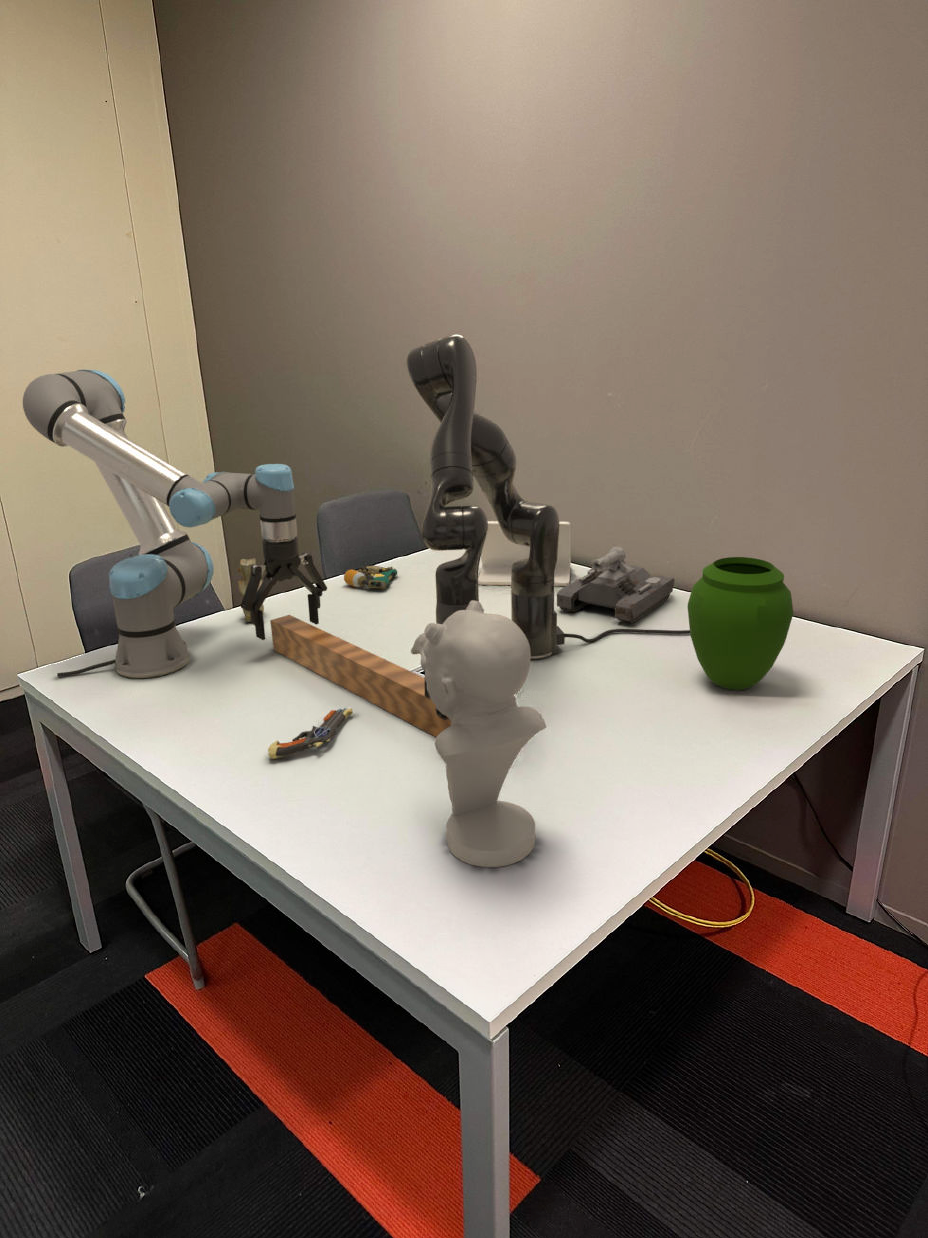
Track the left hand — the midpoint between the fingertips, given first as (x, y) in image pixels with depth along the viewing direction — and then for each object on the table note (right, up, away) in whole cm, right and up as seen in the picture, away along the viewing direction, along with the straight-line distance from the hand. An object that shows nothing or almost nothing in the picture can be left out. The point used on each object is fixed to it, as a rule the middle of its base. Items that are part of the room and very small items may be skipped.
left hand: (288, 630), depth 190 cm
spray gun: (+14, +13, +47) cm, 51 cm away
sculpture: (-13, +2, +22) cm, 26 cm away
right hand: (+39, -13, -41) cm, 58 cm away
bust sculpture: (+40, -29, -65) cm, 82 cm away
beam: (+20, -12, -19) cm, 30 cm away
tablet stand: (+56, +15, +49) cm, 76 cm away
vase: (+93, -10, -20) cm, 95 cm away
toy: (+77, +6, +24) cm, 81 cm away
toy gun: (+12, -19, -36) cm, 43 cm away
